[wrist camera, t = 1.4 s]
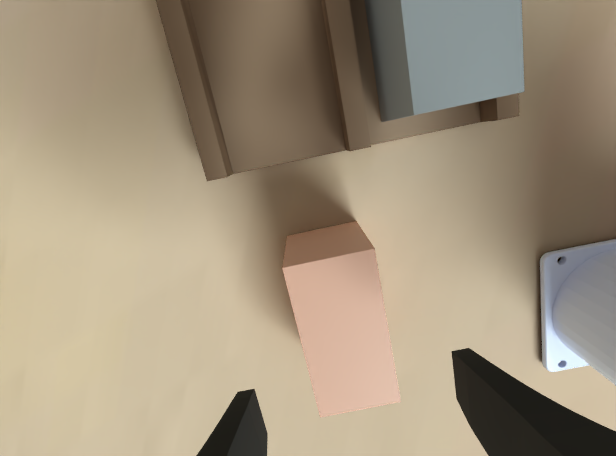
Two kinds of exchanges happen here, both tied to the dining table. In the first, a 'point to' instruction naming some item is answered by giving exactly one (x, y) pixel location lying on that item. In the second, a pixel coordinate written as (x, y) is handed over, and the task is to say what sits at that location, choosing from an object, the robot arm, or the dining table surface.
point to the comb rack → (288, 82)
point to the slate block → (444, 53)
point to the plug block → (341, 318)
